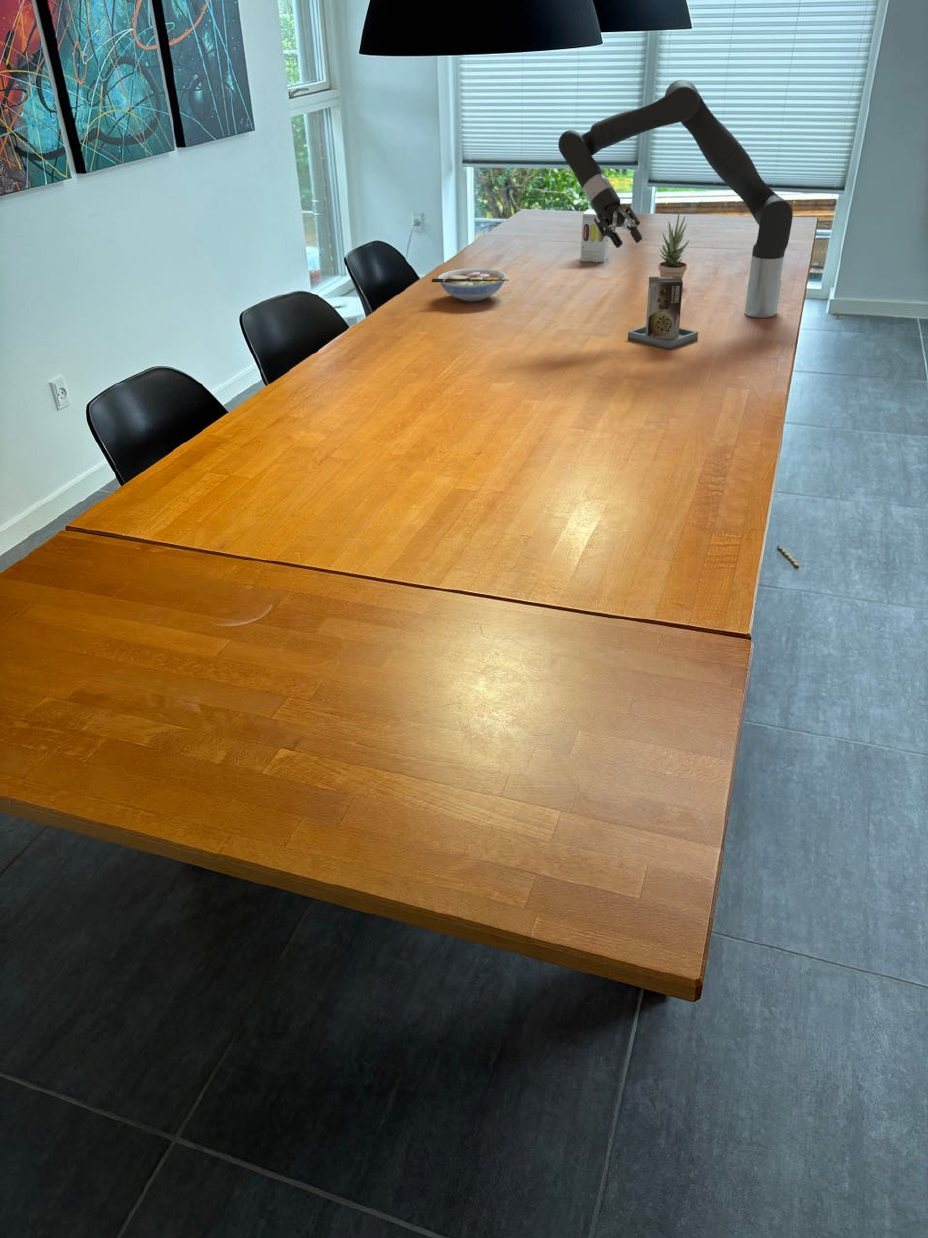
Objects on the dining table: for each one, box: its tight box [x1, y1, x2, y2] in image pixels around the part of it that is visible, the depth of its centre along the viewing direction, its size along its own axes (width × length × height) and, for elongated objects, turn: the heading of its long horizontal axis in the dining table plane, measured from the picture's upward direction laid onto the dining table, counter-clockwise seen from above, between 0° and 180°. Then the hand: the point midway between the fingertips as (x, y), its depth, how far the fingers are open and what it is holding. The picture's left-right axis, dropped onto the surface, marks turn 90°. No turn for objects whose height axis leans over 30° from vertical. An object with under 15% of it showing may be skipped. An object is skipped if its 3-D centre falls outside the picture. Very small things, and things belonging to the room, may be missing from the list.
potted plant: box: [657, 208, 690, 279], centre depth 313 cm, size 10×10×25 cm
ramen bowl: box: [431, 267, 509, 303], centre depth 312 cm, size 25×23×8 cm
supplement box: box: [580, 208, 611, 263], centre depth 351 cm, size 10×9×17 cm
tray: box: [627, 325, 699, 351], centre depth 270 cm, size 13×15×2 cm
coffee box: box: [645, 276, 684, 339], centre depth 266 cm, size 9×6×16 cm
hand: (629, 243), depth 267 cm, fingers open, 8 cm apart
